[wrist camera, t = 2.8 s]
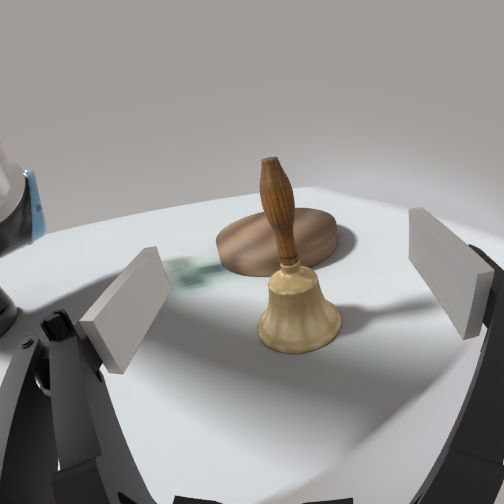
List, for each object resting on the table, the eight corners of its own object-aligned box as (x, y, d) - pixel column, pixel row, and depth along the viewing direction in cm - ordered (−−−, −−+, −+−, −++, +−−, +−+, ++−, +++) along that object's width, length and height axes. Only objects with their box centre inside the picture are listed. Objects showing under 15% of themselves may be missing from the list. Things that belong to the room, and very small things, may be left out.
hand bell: (288, 368, 24) (252, 174, 18) (243, 323, 31) (204, 168, 25) (359, 323, 27) (349, 149, 21) (306, 291, 34) (285, 147, 28)
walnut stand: (196, 265, 46) (191, 247, 45) (263, 221, 58) (261, 206, 57) (302, 287, 35) (299, 264, 34) (354, 228, 47) (352, 210, 46)
